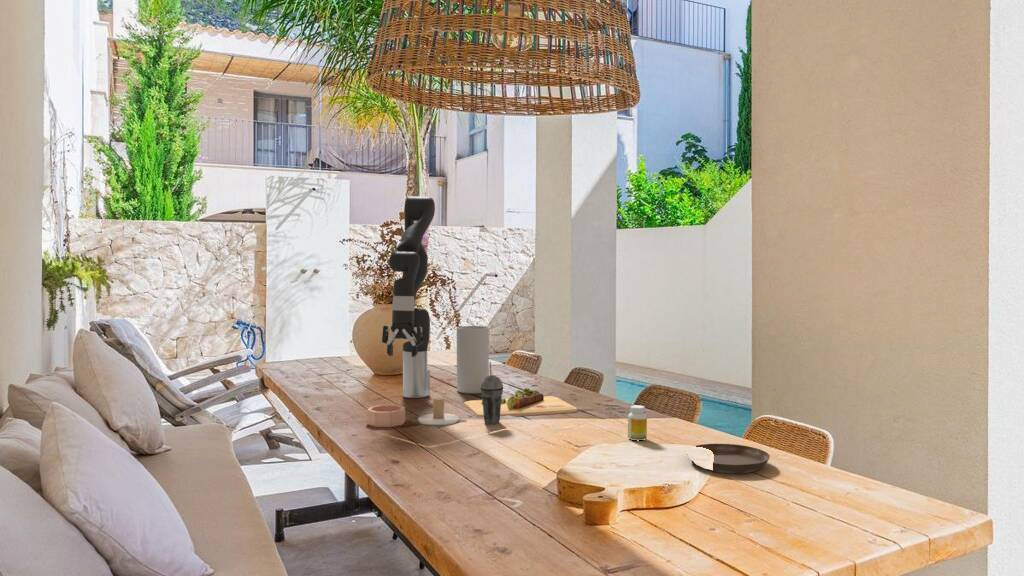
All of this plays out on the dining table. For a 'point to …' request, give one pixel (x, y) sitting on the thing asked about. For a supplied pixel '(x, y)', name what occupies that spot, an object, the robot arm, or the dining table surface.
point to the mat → (437, 426)
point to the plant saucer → (736, 458)
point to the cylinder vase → (472, 358)
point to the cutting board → (526, 404)
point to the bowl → (386, 415)
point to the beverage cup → (491, 398)
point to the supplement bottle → (637, 423)
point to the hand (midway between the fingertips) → (402, 356)
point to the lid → (438, 415)
